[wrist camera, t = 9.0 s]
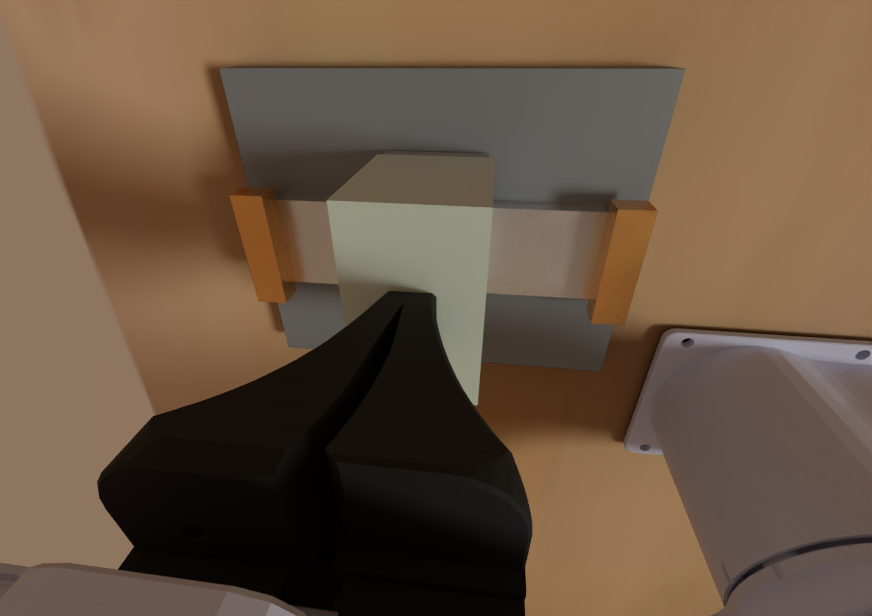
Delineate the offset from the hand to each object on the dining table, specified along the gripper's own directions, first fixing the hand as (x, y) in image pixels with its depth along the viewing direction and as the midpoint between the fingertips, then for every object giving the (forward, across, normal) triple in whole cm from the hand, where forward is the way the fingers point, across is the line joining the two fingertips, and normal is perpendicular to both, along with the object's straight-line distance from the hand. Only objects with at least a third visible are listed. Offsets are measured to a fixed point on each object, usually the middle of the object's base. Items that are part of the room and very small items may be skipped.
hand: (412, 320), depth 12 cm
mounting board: (+7, 0, 0) cm, 7 cm away
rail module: (+5, 0, 0) cm, 5 cm away
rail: (+6, 0, 0) cm, 6 cm away
